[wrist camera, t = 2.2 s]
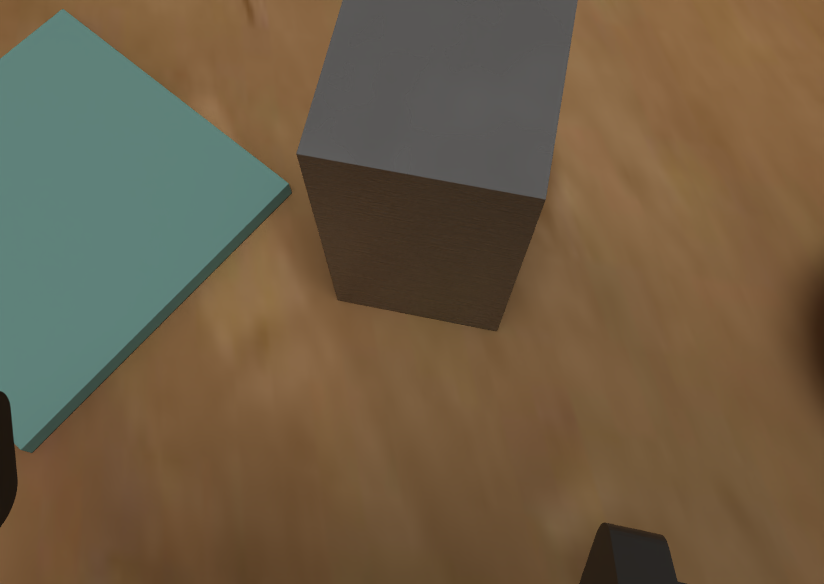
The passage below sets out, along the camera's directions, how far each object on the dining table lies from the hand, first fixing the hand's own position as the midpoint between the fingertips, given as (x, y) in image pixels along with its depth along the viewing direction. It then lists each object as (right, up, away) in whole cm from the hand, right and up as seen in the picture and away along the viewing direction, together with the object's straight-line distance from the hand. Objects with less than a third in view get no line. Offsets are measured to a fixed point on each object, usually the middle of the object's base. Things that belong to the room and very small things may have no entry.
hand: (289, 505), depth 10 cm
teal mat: (-13, +6, +20) cm, 25 cm away
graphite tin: (+2, +5, +20) cm, 21 cm away
